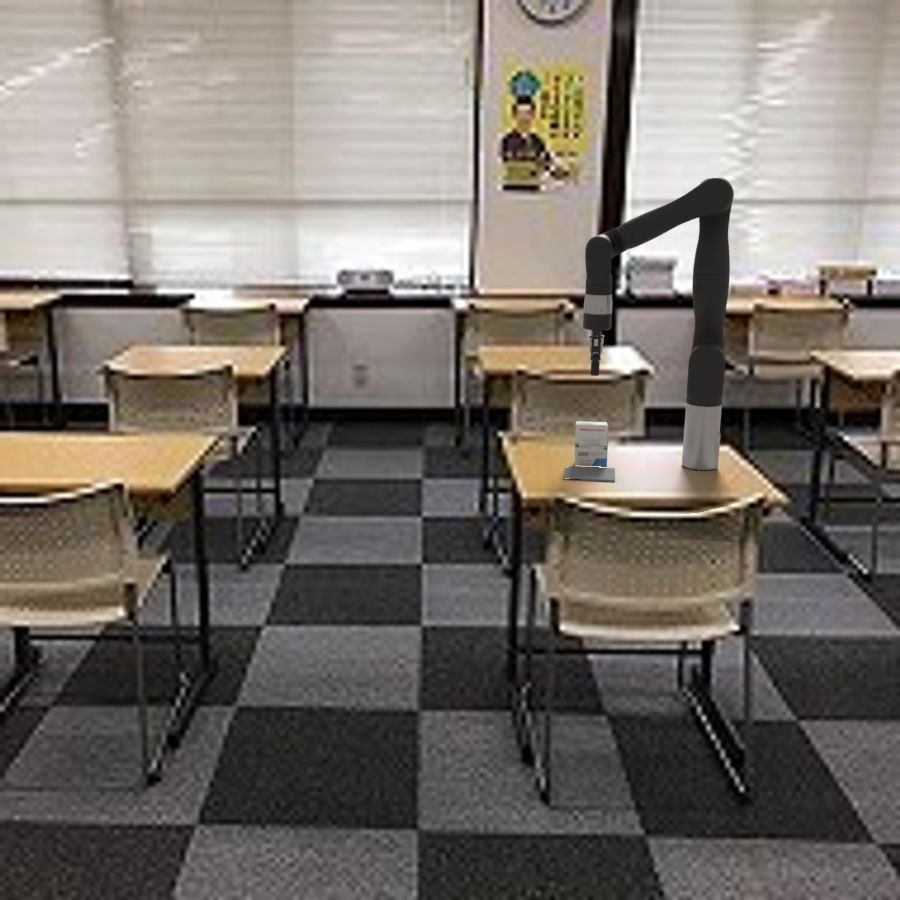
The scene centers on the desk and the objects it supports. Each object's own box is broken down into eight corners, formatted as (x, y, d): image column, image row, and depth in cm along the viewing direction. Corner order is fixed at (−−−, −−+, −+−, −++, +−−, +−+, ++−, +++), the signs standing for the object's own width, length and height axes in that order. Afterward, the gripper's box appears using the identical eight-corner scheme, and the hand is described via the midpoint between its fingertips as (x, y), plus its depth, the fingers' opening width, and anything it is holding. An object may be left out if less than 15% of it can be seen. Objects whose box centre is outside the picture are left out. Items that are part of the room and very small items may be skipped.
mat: (614, 470, 276) (614, 468, 276) (614, 482, 265) (614, 480, 265) (565, 467, 278) (565, 465, 278) (563, 479, 267) (563, 477, 267)
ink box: (605, 463, 282) (608, 421, 279) (606, 468, 278) (609, 425, 275) (573, 462, 283) (575, 420, 280) (574, 467, 278) (576, 424, 275)
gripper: (611, 314, 272) (608, 378, 276) (611, 308, 285) (609, 369, 289) (582, 314, 273) (580, 377, 277) (584, 307, 286) (581, 368, 291)
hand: (594, 373), depth 283 cm, fingers open, 6 cm apart
